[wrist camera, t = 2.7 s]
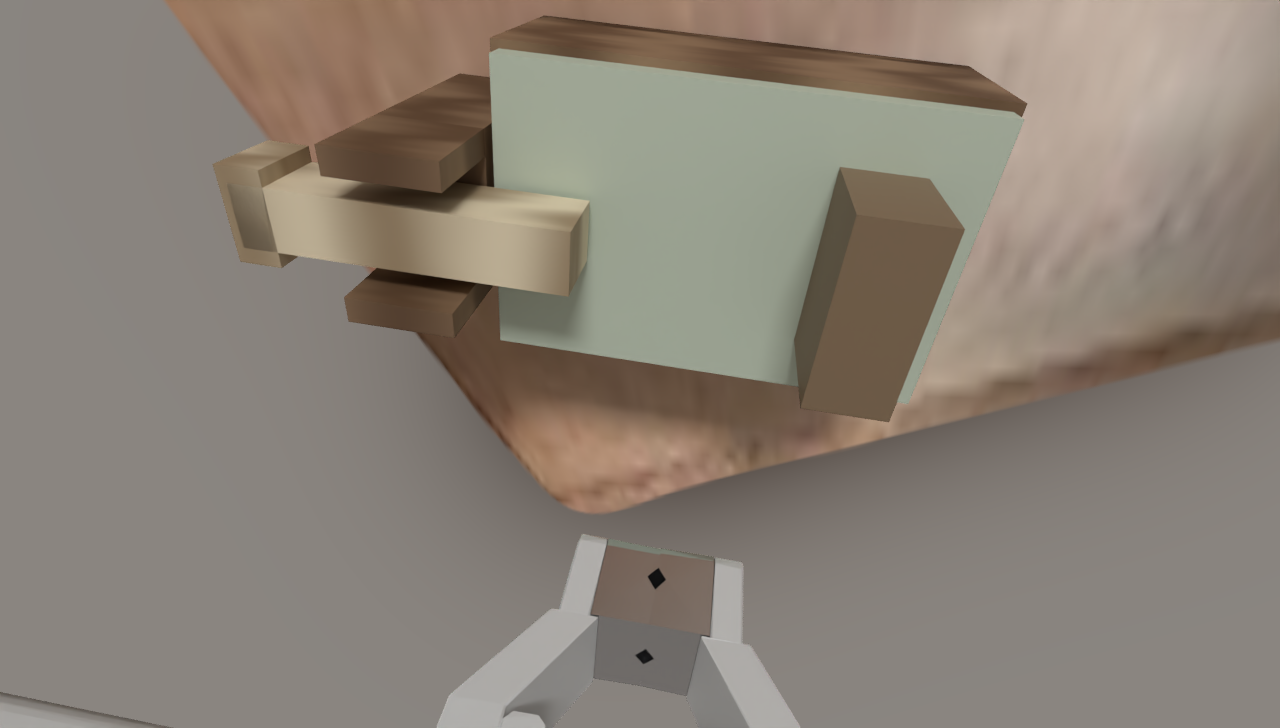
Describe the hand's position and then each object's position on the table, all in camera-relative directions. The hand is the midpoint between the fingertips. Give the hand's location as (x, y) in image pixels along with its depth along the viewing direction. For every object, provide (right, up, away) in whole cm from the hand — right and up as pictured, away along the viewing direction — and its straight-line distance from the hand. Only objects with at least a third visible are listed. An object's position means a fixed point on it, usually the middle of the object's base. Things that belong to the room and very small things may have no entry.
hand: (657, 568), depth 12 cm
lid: (+3, +9, +13) cm, 16 cm away
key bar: (-8, +10, +13) cm, 18 cm away
